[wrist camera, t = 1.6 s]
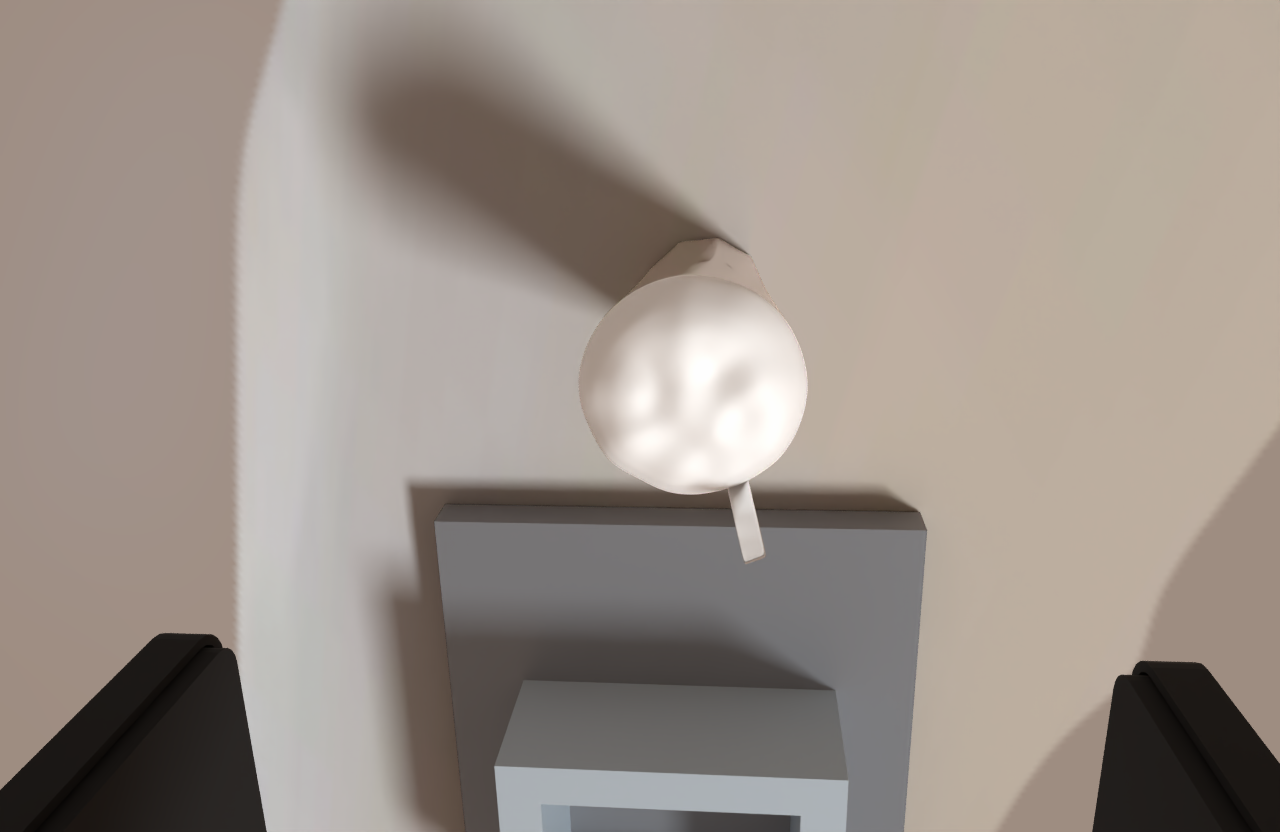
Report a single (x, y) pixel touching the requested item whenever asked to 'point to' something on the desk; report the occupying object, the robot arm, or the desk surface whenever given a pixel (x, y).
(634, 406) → the milkshake
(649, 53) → the desk surface
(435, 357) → the desk surface
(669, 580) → the housing
